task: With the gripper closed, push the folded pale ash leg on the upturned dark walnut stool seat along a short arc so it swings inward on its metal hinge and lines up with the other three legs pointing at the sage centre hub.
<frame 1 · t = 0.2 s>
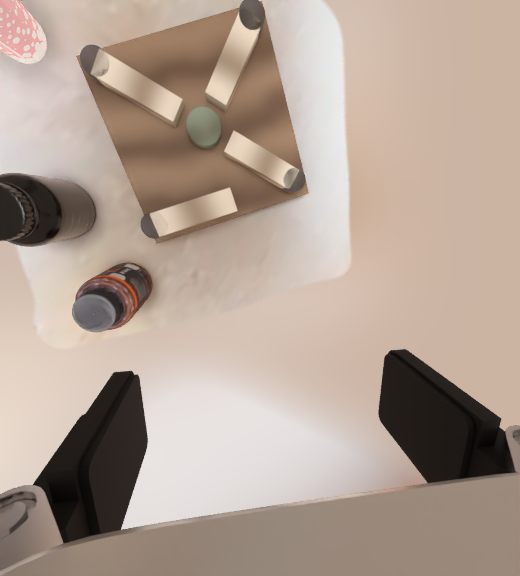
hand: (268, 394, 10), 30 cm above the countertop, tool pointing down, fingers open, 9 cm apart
beverage cup: (24, 39, 30), on the countertop
stool seat: (206, 137, 34), on the countertop
hinged leg: (191, 213, 31), point 6 cm above the countertop, hinge at 0.0°
supplement bottle 2: (130, 283, 38), on the countertop
supplement bottle: (68, 210, 35), on the countertop
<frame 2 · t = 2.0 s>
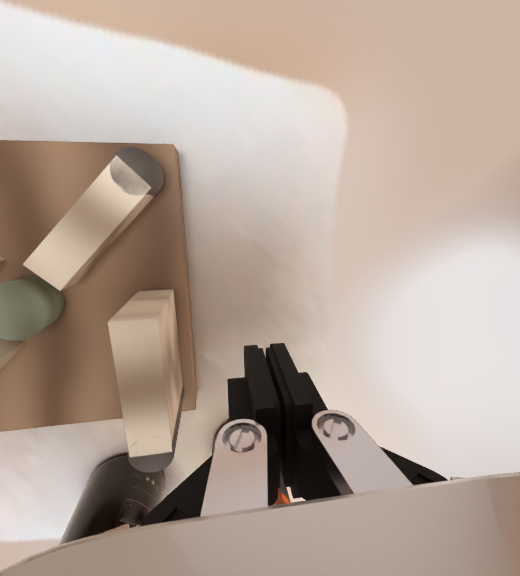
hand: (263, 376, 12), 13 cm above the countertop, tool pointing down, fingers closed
stool seat: (55, 291, 21), on the countertop
hinged leg: (155, 373, 18), point 6 cm above the countertop, hinge at 0.0°
supplement bottle: (129, 478, 27), on the countertop
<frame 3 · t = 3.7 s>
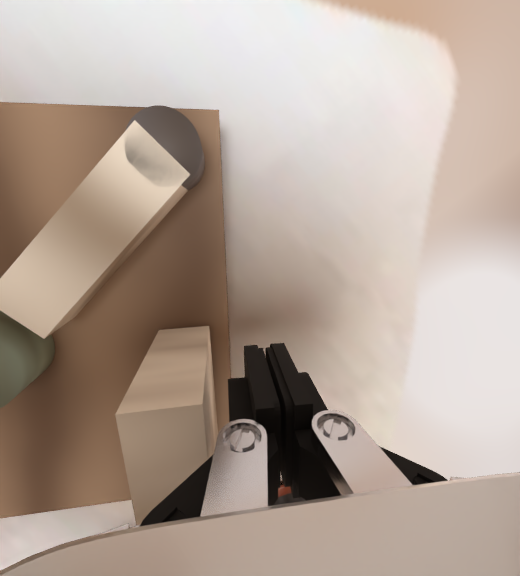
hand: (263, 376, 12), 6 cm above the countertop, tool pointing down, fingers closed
stool seat: (44, 325, 15), on the countertop
hinged leg: (187, 458, 12), point 6 cm above the countertop, hinge at 1.1°, touching gripper
supplement bottle 2: (288, 505, 22), on the countertop
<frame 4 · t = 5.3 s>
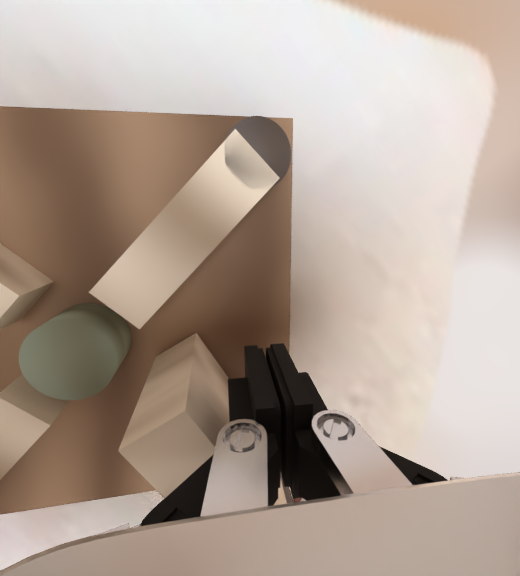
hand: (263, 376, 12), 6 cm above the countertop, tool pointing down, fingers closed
stool seat: (110, 319, 16), on the countertop
hinged leg: (228, 453, 13), point 6 cm above the countertop, hinge at 28.8°, touching gripper
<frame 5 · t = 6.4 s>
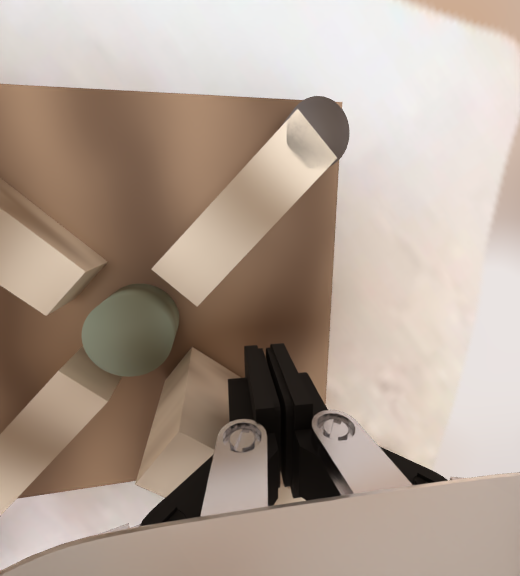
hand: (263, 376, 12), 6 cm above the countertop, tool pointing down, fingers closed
stool seat: (152, 303, 16), on the countertop
hinged leg: (257, 447, 13), point 6 cm above the countertop, hinge at 50.0°, touching gripper
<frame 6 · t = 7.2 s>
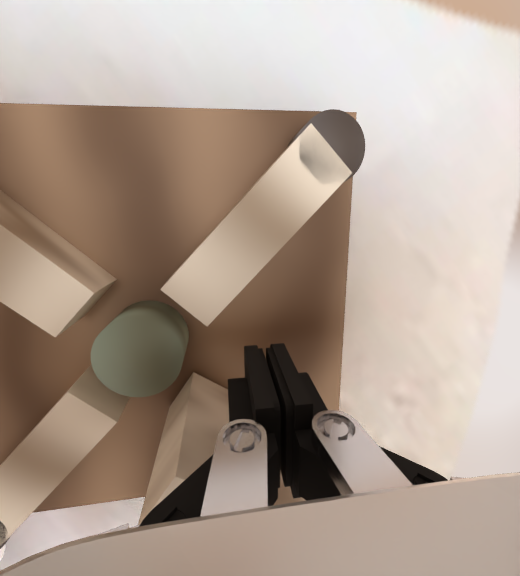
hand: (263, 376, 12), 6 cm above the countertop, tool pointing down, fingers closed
stool seat: (161, 317, 16), on the countertop
hinged leg: (265, 473, 13), point 6 cm above the countertop, hinge at 54.3°
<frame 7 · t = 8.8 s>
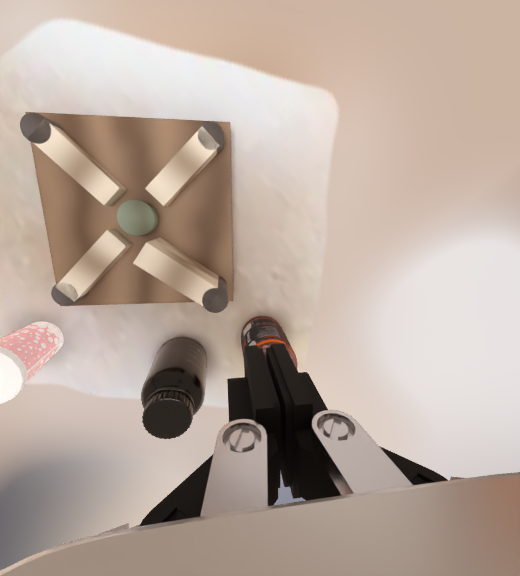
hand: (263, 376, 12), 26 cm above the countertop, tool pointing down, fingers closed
beverage cup: (45, 337, 36), on the countertop
stool seat: (147, 217, 34), on the countertop
hinged leg: (188, 274, 30), point 6 cm above the countertop, hinge at 54.5°
supplement bottle 2: (261, 334, 40), on the countertop
supplement bottle: (183, 358, 39), on the countertop
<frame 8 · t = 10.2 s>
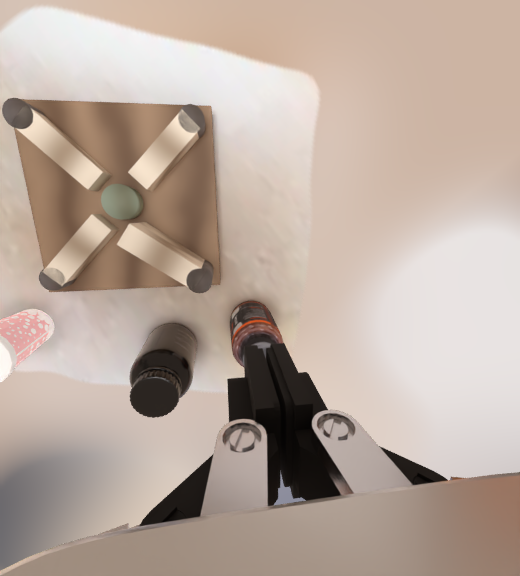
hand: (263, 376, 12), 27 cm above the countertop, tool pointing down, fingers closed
beverage cup: (36, 325, 36), on the countertop
stool seat: (133, 203, 34), on the countertop
hinged leg: (173, 257, 31), point 6 cm above the countertop, hinge at 54.5°
supplement bottle 2: (250, 319, 40), on the countertop
supplement bottle: (173, 343, 39), on the countertop
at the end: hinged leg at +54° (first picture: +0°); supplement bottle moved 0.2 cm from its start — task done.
